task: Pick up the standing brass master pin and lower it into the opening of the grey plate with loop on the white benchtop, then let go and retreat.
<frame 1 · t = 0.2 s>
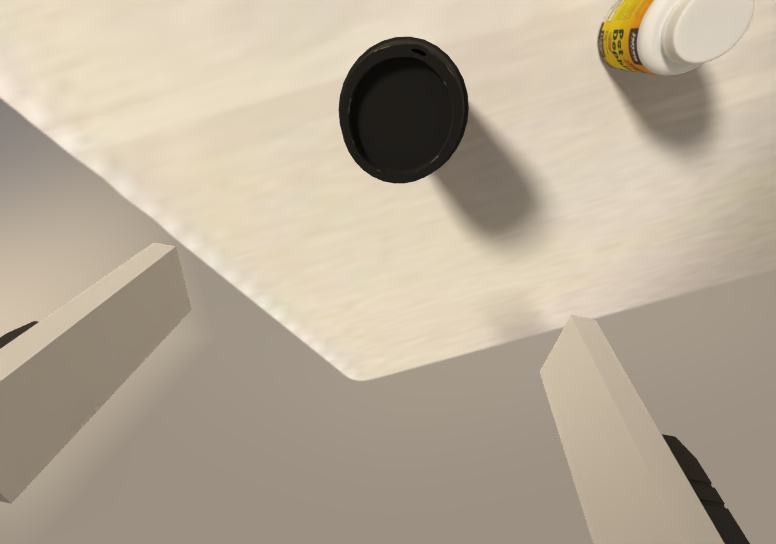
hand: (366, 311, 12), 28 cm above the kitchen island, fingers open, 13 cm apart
coffee cup: (413, 93, 33), on the kitchen island
supplement bottle: (630, 30, 29), on the kitchen island
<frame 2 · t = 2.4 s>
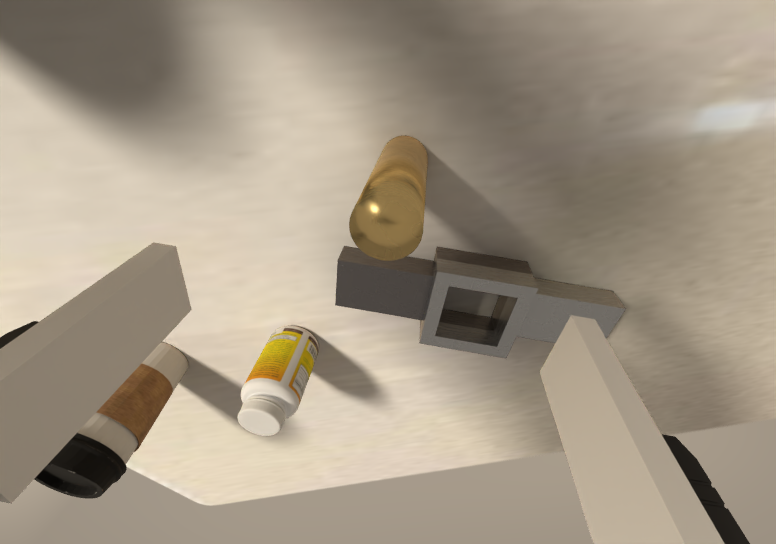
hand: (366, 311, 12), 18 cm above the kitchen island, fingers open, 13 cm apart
master pin: (404, 160, 27), on the kitchen island
grey plate with loop: (470, 290, 33), on the kitchen island
coffee cup: (166, 356, 44), on the kitchen island
supplement bottle: (297, 340, 39), on the kitchen island
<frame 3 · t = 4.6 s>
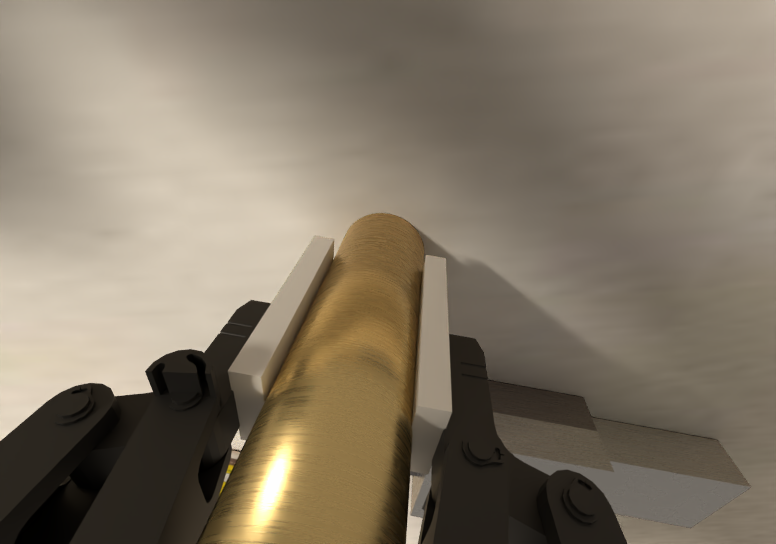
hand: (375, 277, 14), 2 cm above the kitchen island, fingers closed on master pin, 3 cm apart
master pin: (383, 250, 15), on the kitchen island, touching gripper
grey plate with loop: (489, 426, 21), on the kitchen island
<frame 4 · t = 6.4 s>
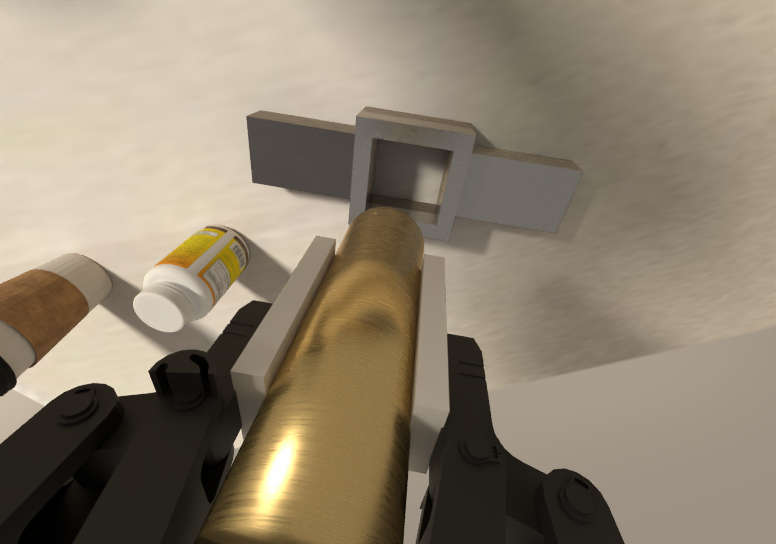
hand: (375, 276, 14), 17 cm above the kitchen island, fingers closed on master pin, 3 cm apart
master pin: (384, 243, 16), point 14 cm above the kitchen island, touching gripper
grey plate with loop: (409, 167, 28), on the kitchen island
coffee cup: (87, 274, 39), on the kitchen island
supplement bottle: (225, 246, 35), on the kitchen island
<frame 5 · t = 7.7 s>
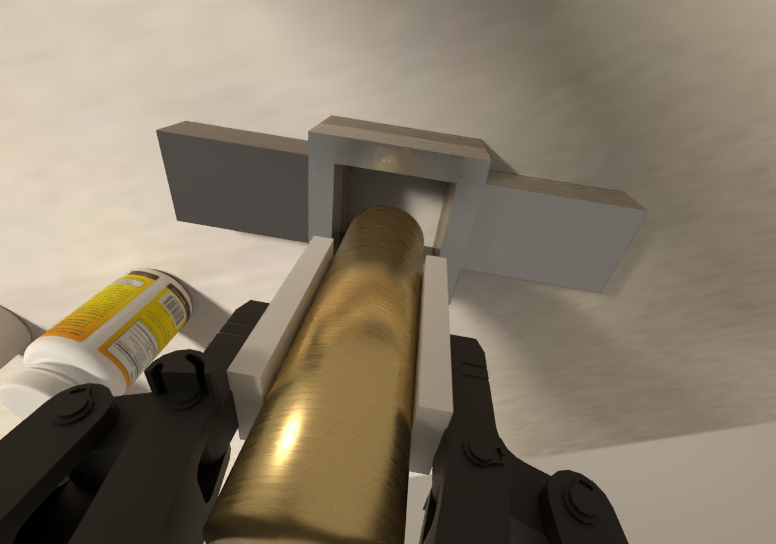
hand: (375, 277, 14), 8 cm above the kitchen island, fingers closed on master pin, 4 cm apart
master pin: (385, 241, 16), point 5 cm above the kitchen island, touching gripper
grey plate with loop: (395, 198, 20), on the kitchen island
coffee cup: (0, 322, 32), on the kitchen island
supplement bottle: (163, 293, 27), on the kitchen island
when the fingers open (5 cm above the kitchen island, at t = 8.5 s): master pin drops 2 cm, resting in grey plate with loop.
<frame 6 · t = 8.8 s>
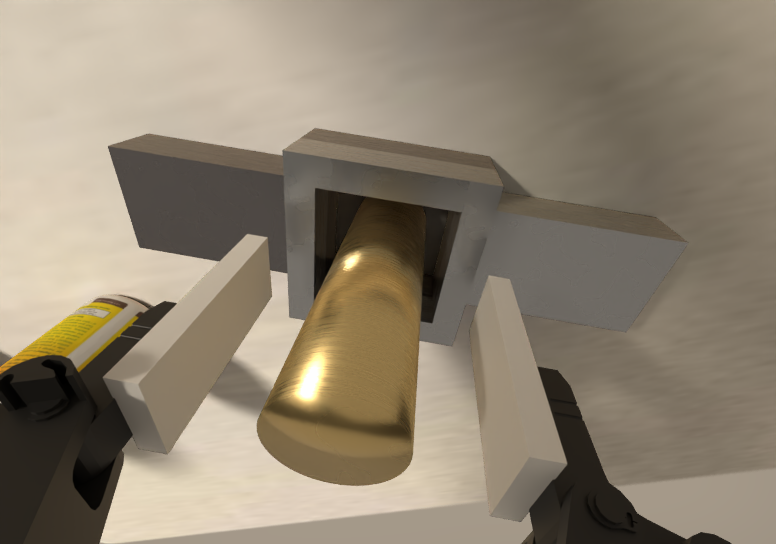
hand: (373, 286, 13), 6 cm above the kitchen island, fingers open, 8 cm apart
master pin: (391, 222, 18), resting in grey plate with loop
grey plate with loop: (390, 222, 18), on the kitchen island
supplement bottle: (134, 320, 25), on the kitchen island
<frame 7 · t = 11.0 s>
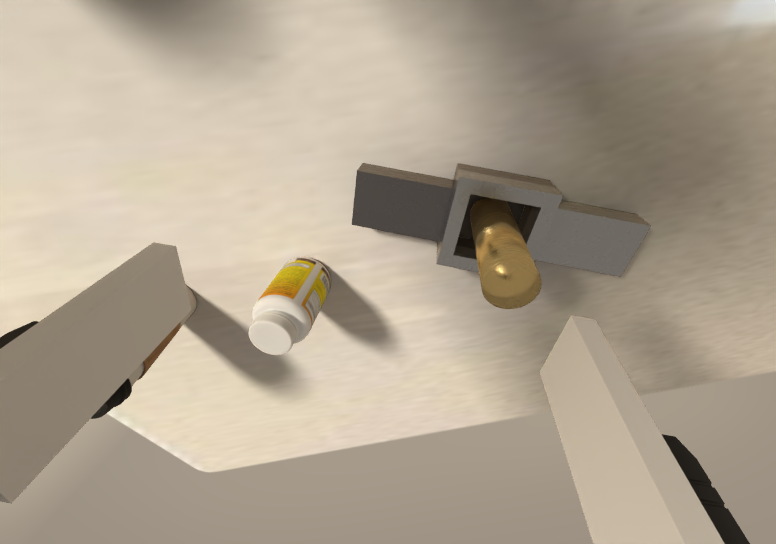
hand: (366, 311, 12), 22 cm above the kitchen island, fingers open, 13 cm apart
master pin: (489, 214, 32), resting in grey plate with loop
grey plate with loop: (489, 214, 32), on the kitchen island
coffee cup: (175, 295, 43), on the kitchen island
supplement bottle: (309, 275, 39), on the kitchen island
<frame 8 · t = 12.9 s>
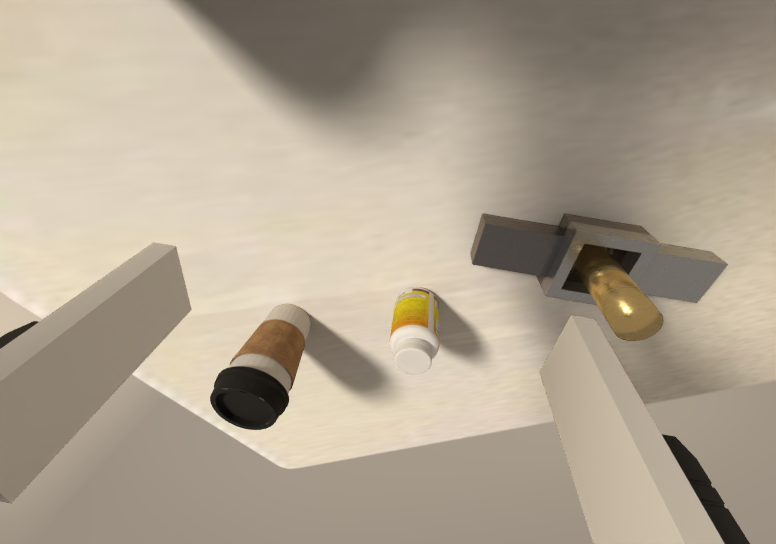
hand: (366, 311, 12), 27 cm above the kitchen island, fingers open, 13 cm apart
master pin: (585, 252, 39), resting in grey plate with loop
grey plate with loop: (585, 252, 38), on the kitchen island
coffee cup: (291, 318, 50), on the kitchen island
supplement bottle: (417, 301, 45), on the kitchen island
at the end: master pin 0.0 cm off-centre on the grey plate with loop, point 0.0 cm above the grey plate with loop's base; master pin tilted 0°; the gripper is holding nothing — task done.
